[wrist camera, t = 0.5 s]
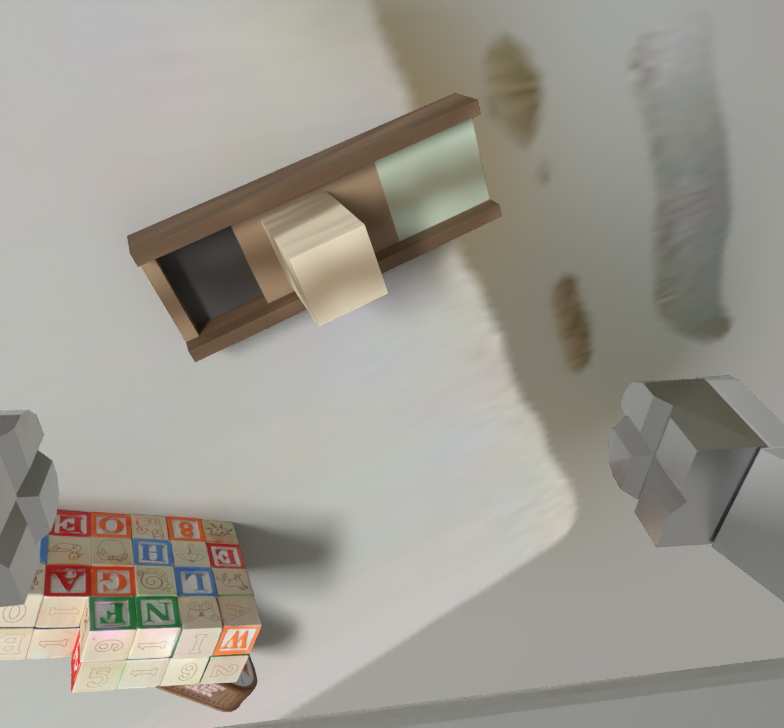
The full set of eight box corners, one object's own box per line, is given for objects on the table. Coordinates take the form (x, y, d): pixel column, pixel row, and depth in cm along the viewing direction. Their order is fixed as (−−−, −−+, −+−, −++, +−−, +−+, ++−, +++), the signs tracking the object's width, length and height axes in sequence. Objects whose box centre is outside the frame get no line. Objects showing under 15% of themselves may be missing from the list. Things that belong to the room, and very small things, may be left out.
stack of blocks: (-56, 563, 50) (-91, 705, 40) (-41, 499, 48) (-75, 632, 38) (214, 572, 61) (238, 685, 51) (235, 520, 59) (264, 627, 49)
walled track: (127, 236, 44) (129, 253, 41) (454, 93, 48) (477, 99, 45) (189, 340, 49) (195, 362, 46) (479, 203, 53) (501, 216, 50)
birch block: (260, 219, 45) (289, 259, 38) (325, 190, 45) (364, 224, 39) (287, 280, 48) (318, 326, 41) (348, 252, 48) (388, 293, 42)
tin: (110, 599, 58) (113, 681, 51) (135, 576, 58) (142, 655, 51) (229, 651, 67) (245, 726, 60) (251, 631, 67) (270, 704, 60)
